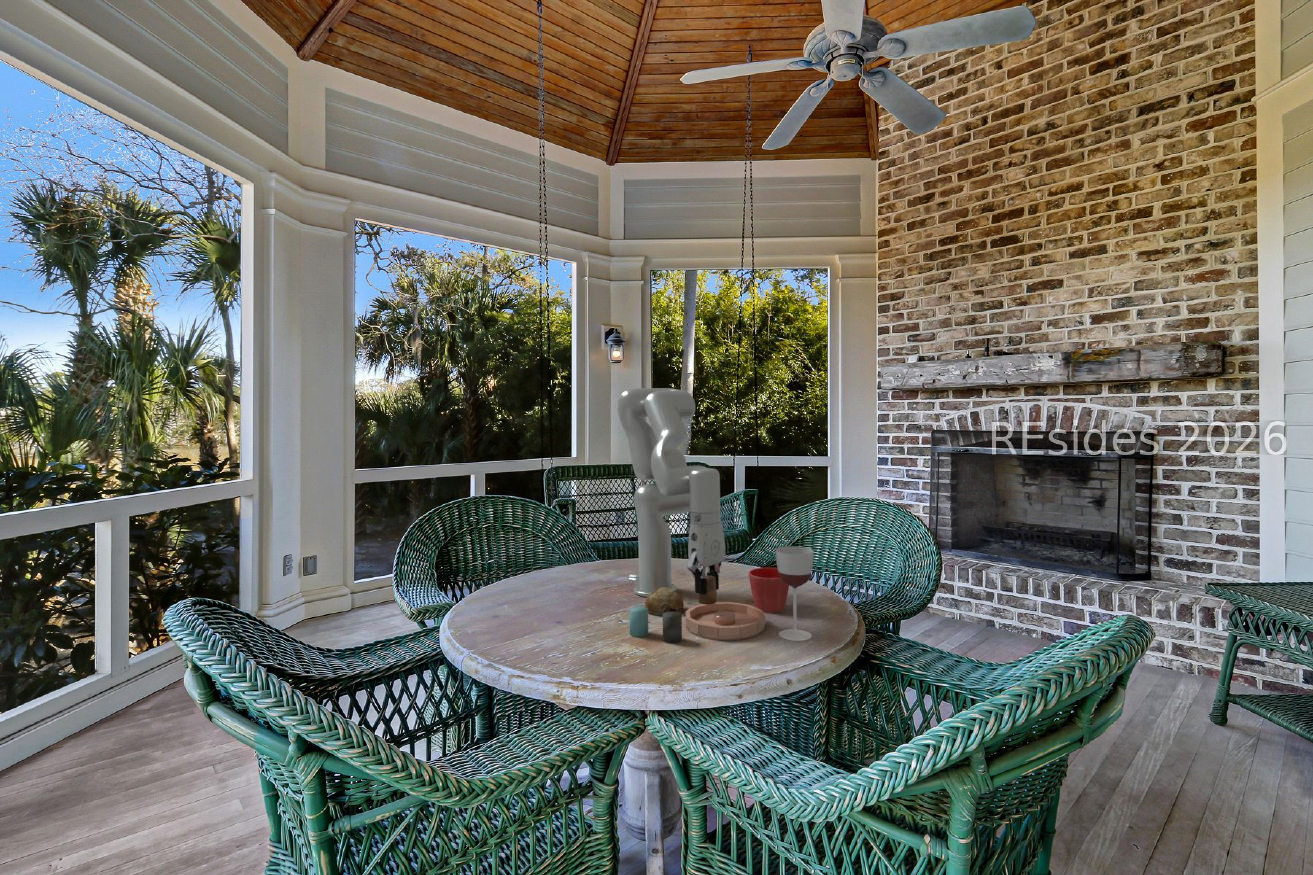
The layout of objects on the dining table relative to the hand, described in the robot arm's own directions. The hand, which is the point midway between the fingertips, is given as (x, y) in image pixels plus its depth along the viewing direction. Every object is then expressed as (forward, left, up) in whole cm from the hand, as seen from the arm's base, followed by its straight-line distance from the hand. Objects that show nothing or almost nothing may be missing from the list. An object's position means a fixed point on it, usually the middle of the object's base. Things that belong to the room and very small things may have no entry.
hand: (707, 590), depth 162 cm
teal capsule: (-11, -15, -8) cm, 20 cm away
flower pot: (+10, +17, -8) cm, 22 cm away
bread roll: (-15, +3, -8) cm, 17 cm away
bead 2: (-2, -15, -8) cm, 17 cm away
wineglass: (+22, +1, -8) cm, 24 cm away
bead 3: (0, 0, -3) cm, 3 cm away
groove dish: (+5, -1, -8) cm, 9 cm away
